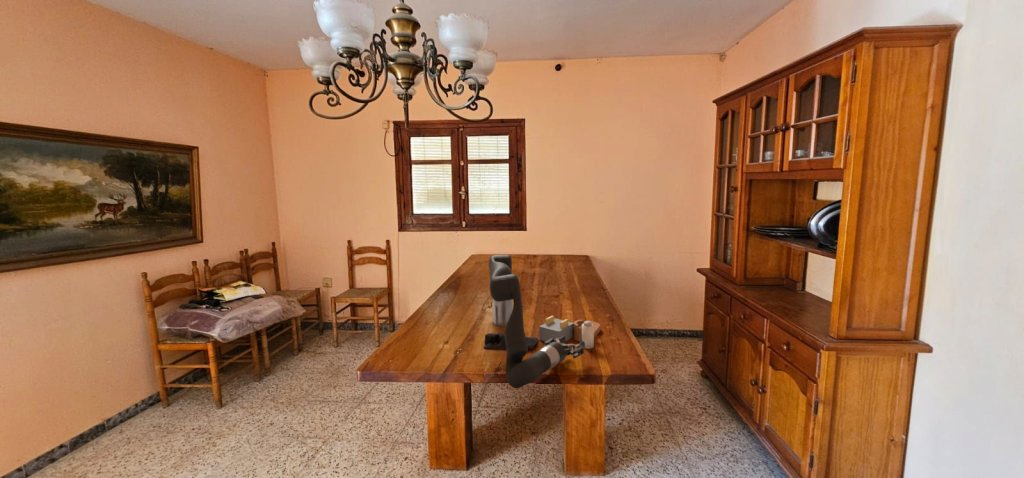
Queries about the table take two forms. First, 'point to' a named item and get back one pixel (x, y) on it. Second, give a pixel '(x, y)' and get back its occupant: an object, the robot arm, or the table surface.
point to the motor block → (556, 329)
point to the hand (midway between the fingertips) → (573, 340)
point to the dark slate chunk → (500, 338)
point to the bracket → (579, 329)
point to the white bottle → (588, 334)
